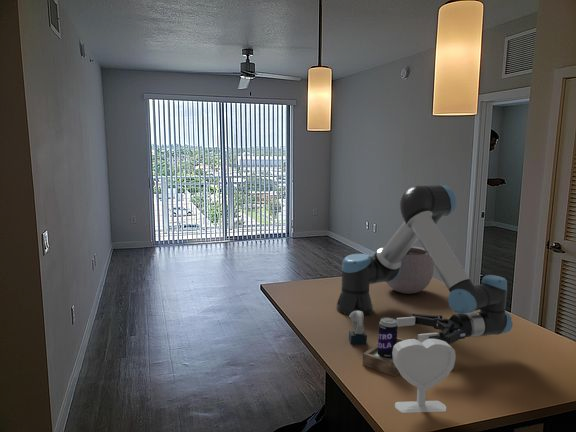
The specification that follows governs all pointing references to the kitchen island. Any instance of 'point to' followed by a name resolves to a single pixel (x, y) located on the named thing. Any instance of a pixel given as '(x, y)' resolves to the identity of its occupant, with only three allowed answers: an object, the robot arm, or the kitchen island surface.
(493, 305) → the robot arm
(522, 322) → the kitchen island surface
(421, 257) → the plant pot
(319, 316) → the kitchen island surface
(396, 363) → the heart sculpture
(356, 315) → the watch
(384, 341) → the beverage can
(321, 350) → the kitchen island surface
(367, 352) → the brown divided tray
